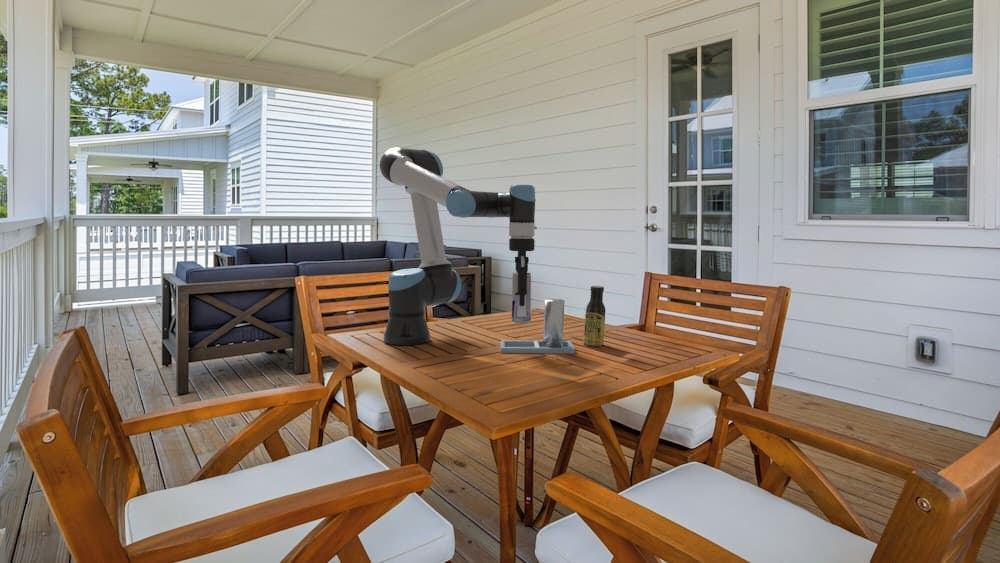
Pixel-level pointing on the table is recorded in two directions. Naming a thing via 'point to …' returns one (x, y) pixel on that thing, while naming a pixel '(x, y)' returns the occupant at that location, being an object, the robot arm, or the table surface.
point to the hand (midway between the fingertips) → (521, 314)
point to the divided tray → (533, 347)
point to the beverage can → (514, 299)
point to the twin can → (553, 323)
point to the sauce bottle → (595, 319)
